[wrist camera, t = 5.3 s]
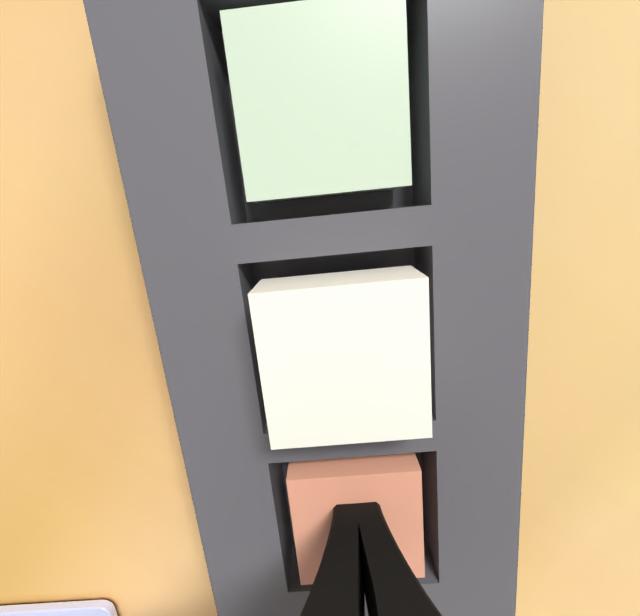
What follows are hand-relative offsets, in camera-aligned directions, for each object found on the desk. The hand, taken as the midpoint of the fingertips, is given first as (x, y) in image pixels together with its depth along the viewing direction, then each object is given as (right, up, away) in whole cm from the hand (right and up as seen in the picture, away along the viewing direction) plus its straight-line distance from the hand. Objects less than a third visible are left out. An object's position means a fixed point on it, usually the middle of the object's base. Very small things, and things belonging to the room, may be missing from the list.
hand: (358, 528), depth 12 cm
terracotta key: (0, 0, +2) cm, 2 cm away
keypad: (-1, +7, +1) cm, 7 cm away
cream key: (-1, +6, -1) cm, 6 cm away
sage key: (-1, +12, -1) cm, 12 cm away
